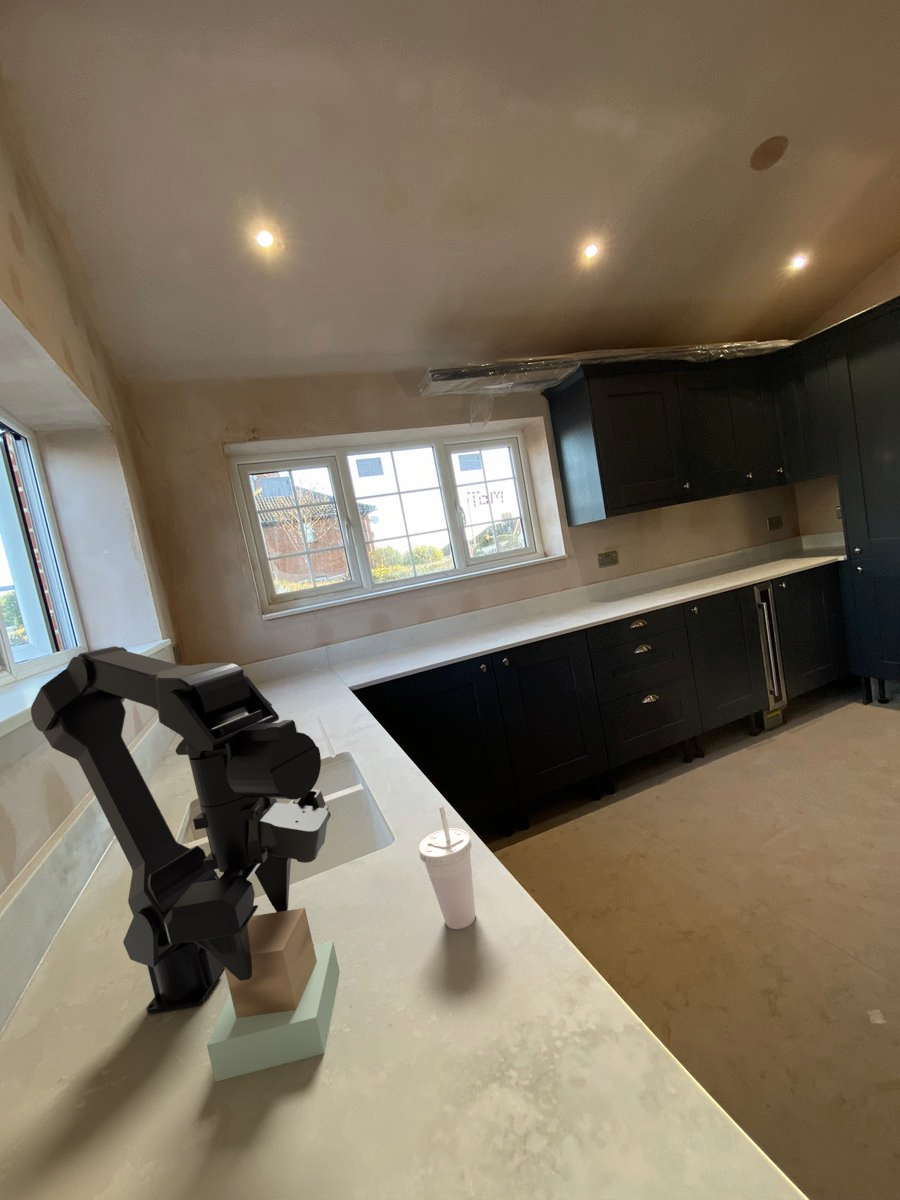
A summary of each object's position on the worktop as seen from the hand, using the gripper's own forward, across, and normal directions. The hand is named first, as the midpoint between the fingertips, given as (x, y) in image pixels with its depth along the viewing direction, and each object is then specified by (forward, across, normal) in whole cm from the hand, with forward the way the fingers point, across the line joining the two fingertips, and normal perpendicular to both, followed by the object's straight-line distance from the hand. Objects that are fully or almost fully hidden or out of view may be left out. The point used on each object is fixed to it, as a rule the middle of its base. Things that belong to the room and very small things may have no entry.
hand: (266, 942), depth 52 cm
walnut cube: (+5, 0, 0) cm, 5 cm away
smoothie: (+9, +11, -18) cm, 23 cm away
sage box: (+9, 0, 0) cm, 9 cm away
